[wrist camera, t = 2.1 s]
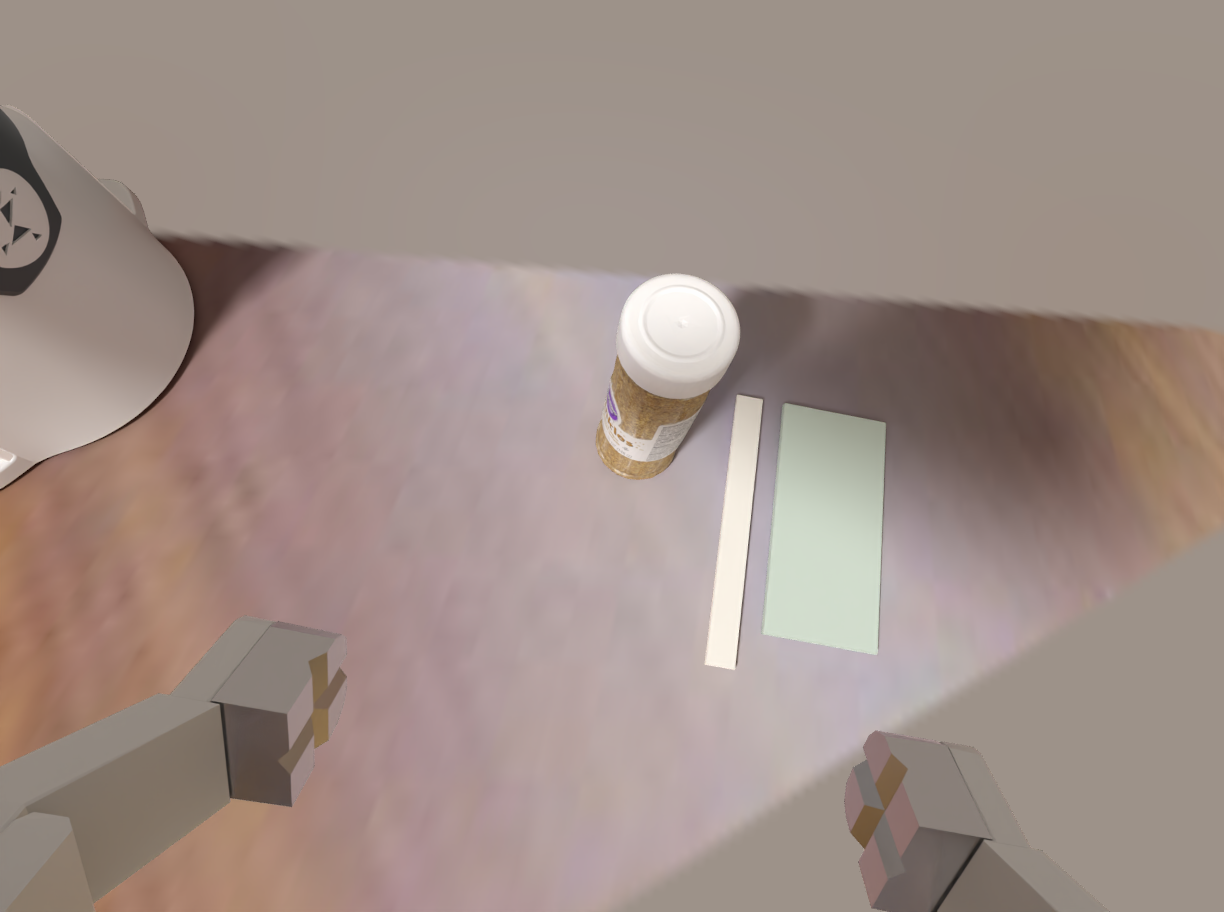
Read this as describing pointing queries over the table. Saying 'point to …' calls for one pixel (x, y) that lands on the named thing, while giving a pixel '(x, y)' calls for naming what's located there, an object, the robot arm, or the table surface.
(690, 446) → the table surface
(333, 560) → the table surface
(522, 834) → the table surface
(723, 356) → the sprinkles bottle
